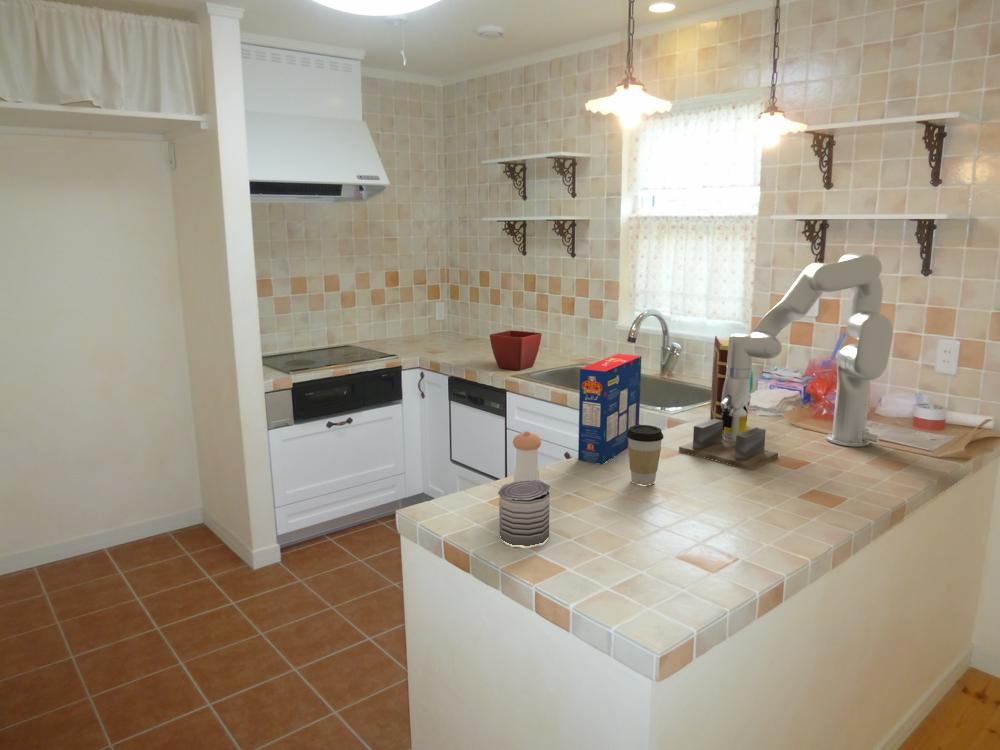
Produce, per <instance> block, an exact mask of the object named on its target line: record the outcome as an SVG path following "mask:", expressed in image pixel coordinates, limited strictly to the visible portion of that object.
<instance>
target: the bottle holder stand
mask: <svg viewBox="0 0 1000 750" xmlns="http://www.w3.org/2000/svg"><path fill="white" fill-rule="evenodd" d="M722 430H723V420H719V419H712V420H711V419H710V420H706V421H703V422H702V423H699V424H696V425H693V433H692V434H693V436H692V441H690V442H687V443H685V444H682V445H680V446H678V447H679V448H678V449H679V450H678V452H679V451H680V453H683V452H685V453H684V454H687V453H689V454H688V455H691V454H693V455H692V456H694V455H697V456H696V457H698V456H701V457H700V458H702V457H705V458H704V459H706V458H709V459H708V460H710V459H713V460H712V461H714V460H717V461H720V462H719V463H721V462H724V463H723V464H725V463H728V464H727V465H729V464H731V465H730V466H733V465H735V466H734V467H737V466H739V467H738V468H740V467H742V468H741V469H744V468H745V469H744V470H748V469H750V470H749V471H754V470H756V469H757V467H758V468H760V467H762V466H764V465H766V464H769V463H770V462H773V461H775V460H777V459H779V453H778V452H775V451H772V450H766V449H765V443H766V429H765V428H760V427H754V428H752V429H750V430H749V429H748V430H746V432H744V433H742V434H739V435H737V436H736V443H735V442H729V441H726V440H725V439H723V434H722ZM717 461H716V462H717ZM761 465H762V466H761ZM759 466H760V467H759ZM755 468H756V469H755ZM753 469H754V470H753Z"/></svg>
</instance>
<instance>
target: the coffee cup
mask: <svg viewBox="0 0 1000 750" xmlns="http://www.w3.org/2000/svg"><path fill="white" fill-rule="evenodd" d="M626 436H627V437H628V443H629V445H628V448H627V449H628V450H627V451H628V458H629V459H628V462H629V470H630V480H632V481H631V483H632V482H634V483H636V484H642V485H649V484H653V483H654V482H655V483H656V478H657V477H656V476H657V472H658V468H659V461H660V455H661V449H662V440H663V439H664V434H663V432H662V429H661V428H660V427H658V426H654V425H650V424H649V425H647V424H639V425H636V426H632V427H630V428H629V431H628V432H627V434H626ZM655 483H654V484H655Z"/></svg>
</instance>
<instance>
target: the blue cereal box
mask: <svg viewBox="0 0 1000 750" xmlns="http://www.w3.org/2000/svg"><path fill="white" fill-rule="evenodd" d="M641 378H642V355H633V354H632V355H631V354H623V353H616V354H614V355H612V356H609V357H607V358H604V359H602V360H598V361H596V362H594V363H591V364H589V365H586V366H583V367H580V368H579V397H578V398H579V400H578V403H579V404H578V412H579V413H578V448H577V449H578V453H577V454H578V455H577V457H578V458H577V459H578V461H580V462H587V463H592V464H596V463H600V464H599V465H601V464H603V463H605V462H606V461H608V460H609V459H611V458H612V459H613V458H615V457H616V456H618V455H619V454H621V453H622V452H623V451H625V450H626V449H628V445H629V443H628V437H627V436H626V434H627V432H628V431H629V428H630V427H632V426H636V425H640V409H641V408H640V405H641V403H640V402H641ZM614 456H615V457H614ZM612 459H611V460H612ZM609 461H610V460H609ZM609 461H608V462H609ZM606 463H607V462H606ZM606 463H605V464H606ZM603 465H604V464H603Z"/></svg>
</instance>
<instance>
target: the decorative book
mask: <svg viewBox="0 0 1000 750" xmlns="http://www.w3.org/2000/svg"><path fill="white" fill-rule="evenodd" d="M713 343H714V346H713V357H712V358H713V360H712V374H711V395H710V409H709V410H710V420H712V419H719V420H722V411H721V400H722V393H723V387H724V382H725V378H726V369H727V357H728V344H729V339H718V337H717V335H715V336H714V342H713ZM722 435H724V427H723V430H722Z"/></svg>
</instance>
